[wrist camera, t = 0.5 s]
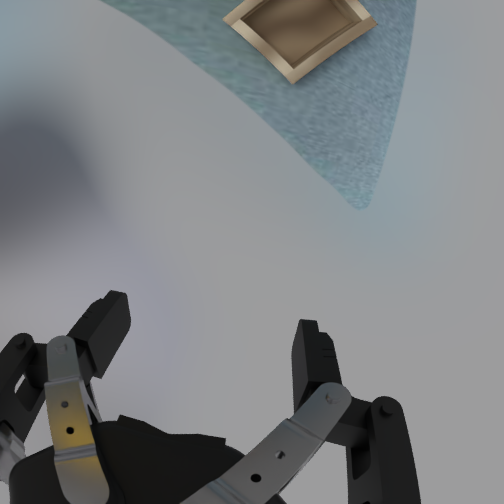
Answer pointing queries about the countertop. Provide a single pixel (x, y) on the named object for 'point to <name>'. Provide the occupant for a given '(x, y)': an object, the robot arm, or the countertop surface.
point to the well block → (299, 30)
